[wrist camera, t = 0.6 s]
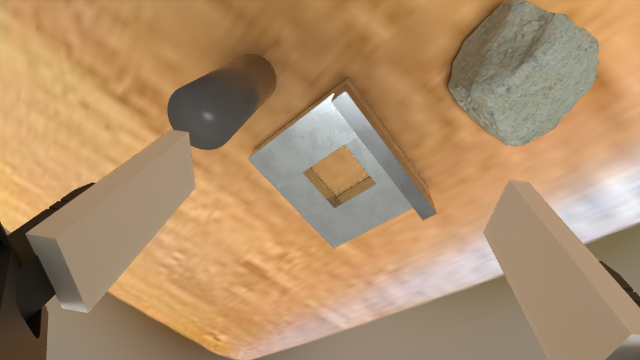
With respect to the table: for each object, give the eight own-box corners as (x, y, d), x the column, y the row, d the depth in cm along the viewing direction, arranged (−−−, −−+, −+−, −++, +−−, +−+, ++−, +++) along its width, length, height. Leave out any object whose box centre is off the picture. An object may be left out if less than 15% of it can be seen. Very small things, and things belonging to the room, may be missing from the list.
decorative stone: (421, 23, 29) (430, 114, 25) (566, -62, 22) (607, 47, 18) (472, 92, 38) (485, 168, 34) (589, 47, 31) (620, 136, 27)
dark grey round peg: (223, 73, 34) (154, 112, 23) (254, 44, 32) (195, 70, 21) (254, 109, 35) (204, 161, 24) (285, 82, 33) (246, 125, 22)
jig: (254, 149, 38) (238, 171, 33) (348, 77, 32) (345, 91, 28) (334, 236, 43) (331, 265, 38) (427, 186, 38) (436, 213, 33)
